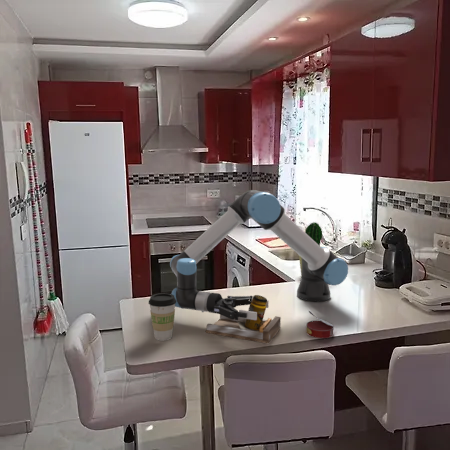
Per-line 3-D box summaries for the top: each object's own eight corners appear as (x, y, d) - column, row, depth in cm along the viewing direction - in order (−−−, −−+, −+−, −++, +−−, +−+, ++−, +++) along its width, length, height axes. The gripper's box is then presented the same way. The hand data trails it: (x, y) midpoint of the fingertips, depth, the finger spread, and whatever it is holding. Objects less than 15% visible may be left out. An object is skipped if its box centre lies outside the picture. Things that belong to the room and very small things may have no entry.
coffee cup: (145, 341, 157) (144, 300, 155) (154, 330, 167) (153, 291, 164) (172, 343, 156) (172, 302, 153) (180, 332, 165) (179, 293, 163)
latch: (259, 336, 159) (259, 328, 159) (268, 325, 169) (268, 318, 168) (262, 336, 159) (262, 328, 158) (271, 326, 168) (271, 318, 168)
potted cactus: (316, 272, 247) (318, 218, 242) (332, 279, 233) (335, 222, 228) (292, 275, 242) (293, 220, 237) (307, 282, 228) (309, 224, 223)
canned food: (308, 340, 170) (309, 313, 173) (335, 341, 166) (336, 314, 170) (302, 336, 160) (302, 308, 164) (330, 338, 157) (330, 309, 160)
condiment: (262, 333, 163) (271, 302, 161) (240, 328, 161) (249, 297, 160) (258, 325, 170) (266, 295, 168) (236, 321, 168) (245, 291, 167)
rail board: (205, 332, 165) (205, 321, 164) (221, 318, 179) (222, 308, 178) (268, 343, 156) (268, 331, 155) (280, 328, 169) (280, 317, 169)
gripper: (222, 301, 183) (272, 308, 175) (194, 323, 160) (250, 332, 152) (222, 283, 182) (272, 290, 174) (194, 302, 159) (251, 311, 151)
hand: (262, 310), depth 163 cm, fingers open, 13 cm apart
